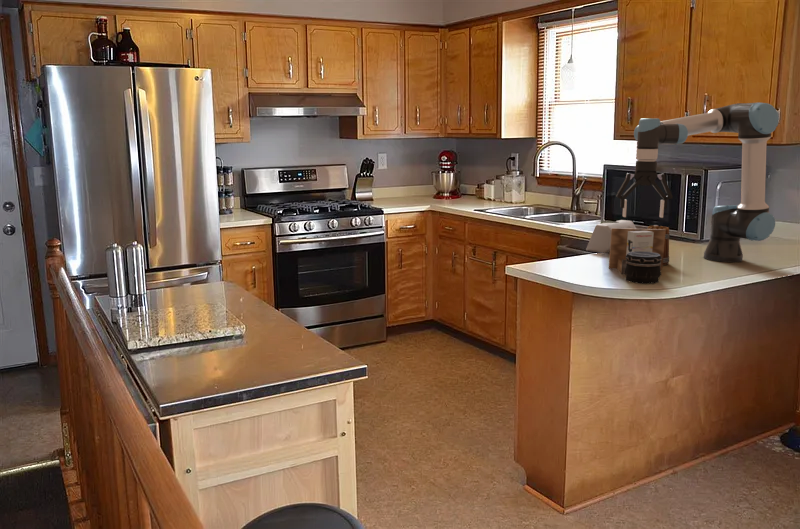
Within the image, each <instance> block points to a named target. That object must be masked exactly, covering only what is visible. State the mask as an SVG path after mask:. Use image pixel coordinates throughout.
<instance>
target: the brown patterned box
mask: <svg viewBox="0 0 800 529" xmlns="http://www.w3.org/2000/svg"><path fill="white" fill-rule="evenodd" d="M628 231H651V232H654V236H653V249H652V252H653V253H658V254H660V256H661V257H662V260H661V261H660V262H661V265H660V269H661V272H662V271H663V254H664V243H665V231H666V230H665V229H647V228H636V229H633V228H611V242H610V252H609V257H608V258H609V259H608V269H610V270H617V271H618V272H619V273H620V274H621V275H626V274H625V273H624V271H625V268H626V258H625V257H626V251H627V237H628Z"/></svg>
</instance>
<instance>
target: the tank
mask: <svg viewBox="0 0 800 529" xmlns="http://www.w3.org/2000/svg"><path fill="white" fill-rule="evenodd" d="M611 228H633V229H637V227H636V225H635V224H634V222H633V220H628V219H627V220H626V219H619V220H616V221H614V222H613V223H612V222H603V223H598V224H596V225H595V227H594V229H593V230H592V231H593V232H592V234H591V236H590V239H589V241H588V242H587V245H586V248H585V250H586V251H587V252H594V253H600V254H608V253H609V254H610V242H611Z"/></svg>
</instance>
